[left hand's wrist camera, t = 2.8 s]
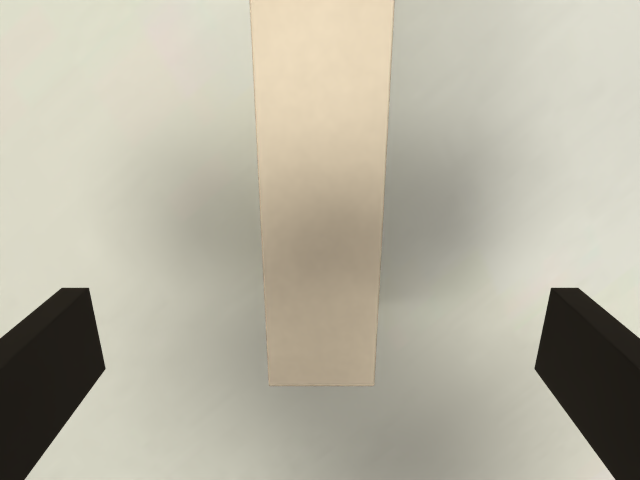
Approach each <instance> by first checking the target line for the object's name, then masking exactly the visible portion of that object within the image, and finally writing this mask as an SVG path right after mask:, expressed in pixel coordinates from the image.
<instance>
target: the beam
mask: <svg viewBox="0 0 640 480" xmlns="http://www.w3.org/2000/svg"><path fill="white" fill-rule="evenodd" d="M394 2H395V0H250V17H251V37H252V57H253V77H254V97H255V117H256V137H257V157H258V177H259V197H260V218H261V238H262V258H263V278H264V298H265V318H266V338H267V358H268V378H269V386H374V380H375V361H376V342H377V323H378V304H379V286H380V267H381V248H382V229H383V210H384V191H385V172H386V153H387V134H388V115H389V97H390V78H391V59H392V40H393V21H394Z"/></svg>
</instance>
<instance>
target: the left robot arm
mask: <svg viewBox="0 0 640 480" xmlns="http://www.w3.org/2000/svg"><path fill="white" fill-rule="evenodd" d="M104 370H105V364H104V359H103V354H102V349H101V345H100V340H99V335H98V330H97V325H96V320H95V315H94V311H93V306H92V301H91V296H90V291H89V288H61V289H60V290H59V291H57V292H56V293H55V294H54V295H53V296H51V297H50V298H49V299H48V300H47V301H45V302H44V303H43V304H42V305H40V306H39V307H38V308H37V309H36V310H34V311H33V312H32V313H31V314H30V315H28V316H27V317H26V318H25V319H23V320H22V321H21V322H20V323H19V324H17V325H16V326H15V327H14V328H13V329H11V330H10V331H9V332H8V333H6V334H5V335H4V336H3V337H2V338H0V480H25V478H26V477H27V476H28V474H29V473H30V471H31V470H32V469H33V467H34V466H35V465H36V463H37V462H38V460H39V459H40V458H41V456H42V455H43V454H44V452H45V451H46V450H47V448H48V447H49V445H50V444H51V443H52V441H53V440H54V439H55V437H56V436H57V434H58V433H59V432H60V430H61V429H62V428H63V426H64V425H65V424H66V422H67V421H68V419H69V418H70V417H71V415H72V414H73V413H74V411H75V410H76V408H77V407H78V406H79V404H80V403H81V402H82V400H83V399H84V398H85V396H86V395H87V393H88V392H89V391H90V389H91V388H92V387H93V385H94V384H95V383H96V381H97V380H98V378H99V377H100V376H101V374H102V373H103V372H104ZM535 370H536V372H537V373H538V374H539V376H540V377H541V378H542V380H543V381H544V383H545V384H546V385H547V387H548V388H549V389H550V391H551V392H552V393H553V395H554V396H555V398H556V399H557V400H558V402H559V403H560V404H561V406H562V407H563V408H564V410H565V411H566V413H567V414H568V415H569V417H570V418H571V419H572V421H573V422H574V424H575V425H576V426H577V428H578V429H579V430H580V432H581V433H582V434H583V436H584V437H585V439H586V440H587V441H588V443H589V444H590V445H591V447H592V448H593V450H594V451H595V452H596V454H597V455H598V456H599V458H600V459H601V460H602V462H603V463H604V465H605V466H606V467H607V469H608V470H609V471H610V473H611V474H612V476H613V477H614V478H615V480H640V338H638V337H637V336H636V335H635V334H634V333H632V332H631V331H630V330H629V329H627V328H626V327H625V326H624V325H623V324H621V323H620V322H619V321H618V320H617V319H615V318H614V317H613V316H612V315H610V314H609V313H608V312H607V311H606V310H604V309H603V308H602V307H601V306H600V305H598V304H597V303H596V302H595V301H593V300H592V299H591V298H590V297H589V296H587V295H586V294H585V293H584V292H583V291H581V290H580V289H579V288H551V291H550V296H549V301H548V306H547V311H546V315H545V320H544V325H543V330H542V335H541V340H540V345H539V349H538V354H537V359H536V364H535Z"/></svg>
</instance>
